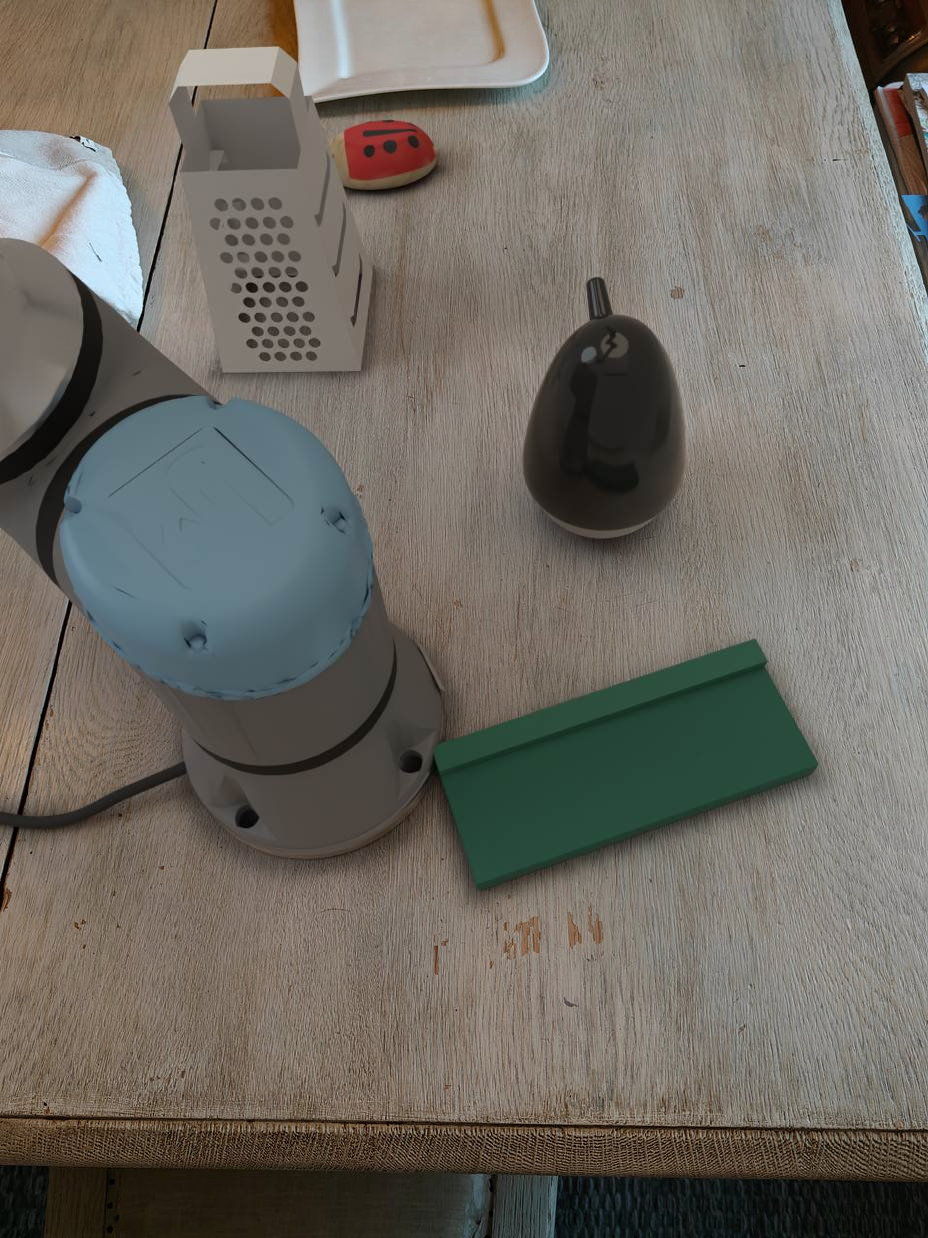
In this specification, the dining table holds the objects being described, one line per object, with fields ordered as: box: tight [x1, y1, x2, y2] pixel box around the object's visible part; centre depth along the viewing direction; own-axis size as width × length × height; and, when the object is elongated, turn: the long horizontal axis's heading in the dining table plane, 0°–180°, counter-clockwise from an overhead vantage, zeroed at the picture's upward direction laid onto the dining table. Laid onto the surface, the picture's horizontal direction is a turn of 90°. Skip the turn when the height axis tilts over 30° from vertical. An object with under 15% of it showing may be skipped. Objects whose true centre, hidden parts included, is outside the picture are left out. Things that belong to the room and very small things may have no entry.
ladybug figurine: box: [329, 119, 441, 191], centre depth 81 cm, size 7×10×4 cm
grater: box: [167, 46, 374, 374], centre depth 65 cm, size 10×10×20 cm
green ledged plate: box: [433, 638, 819, 892], centre depth 54 cm, size 20×8×2 cm, turn 108°
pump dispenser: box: [521, 276, 687, 539], centre depth 58 cm, size 10×10×15 cm
